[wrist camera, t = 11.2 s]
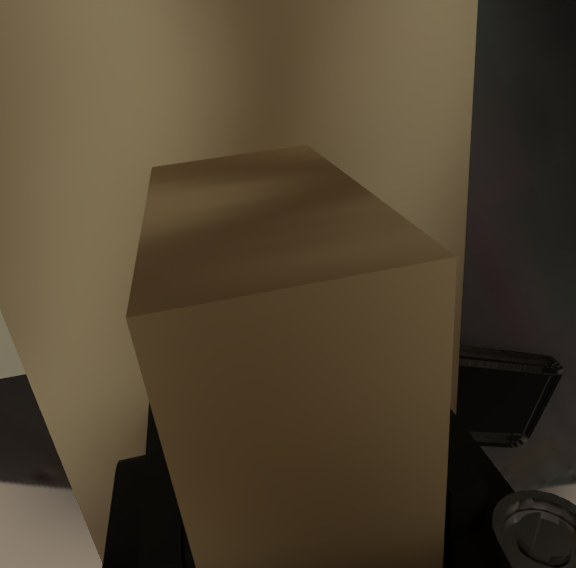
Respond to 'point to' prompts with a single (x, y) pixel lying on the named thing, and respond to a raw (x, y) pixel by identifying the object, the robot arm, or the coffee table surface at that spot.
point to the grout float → (244, 260)
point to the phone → (503, 393)
